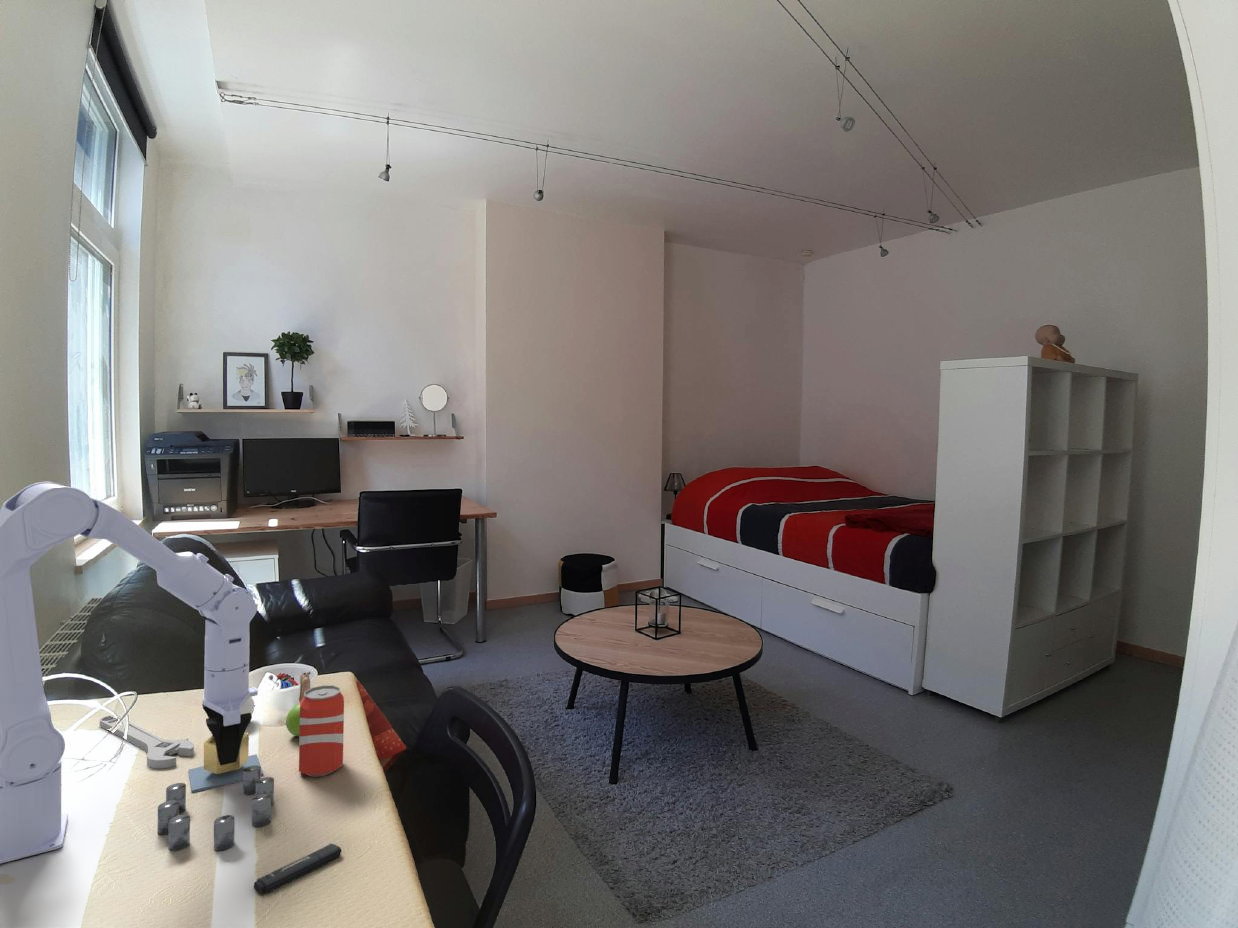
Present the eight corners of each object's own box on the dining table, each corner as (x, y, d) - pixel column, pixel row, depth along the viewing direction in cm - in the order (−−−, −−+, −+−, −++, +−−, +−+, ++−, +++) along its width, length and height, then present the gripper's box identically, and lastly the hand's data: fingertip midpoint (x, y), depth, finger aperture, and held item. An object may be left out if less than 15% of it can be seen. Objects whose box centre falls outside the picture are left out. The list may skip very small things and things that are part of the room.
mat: (191, 792, 93) (191, 790, 93) (188, 771, 99) (188, 769, 99) (263, 774, 98) (263, 773, 98) (256, 755, 104) (256, 753, 104)
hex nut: (205, 776, 95) (205, 748, 95) (202, 762, 99) (202, 735, 99) (250, 766, 98) (250, 739, 98) (246, 752, 102) (246, 726, 102)
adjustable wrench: (95, 727, 113) (95, 717, 113) (140, 715, 118) (140, 706, 118) (155, 773, 98) (155, 761, 98) (202, 757, 104) (202, 746, 103)
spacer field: (159, 869, 77) (159, 842, 77) (156, 811, 88) (156, 787, 88) (284, 832, 84) (284, 808, 84) (267, 783, 96) (267, 761, 96)
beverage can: (342, 756, 105) (343, 681, 104) (343, 775, 99) (344, 696, 98) (299, 762, 102) (301, 686, 102) (298, 782, 96) (299, 702, 96)
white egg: (259, 724, 115) (260, 692, 115) (223, 734, 111) (224, 701, 111) (243, 711, 120) (244, 680, 120) (208, 720, 116) (208, 688, 116)
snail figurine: (287, 747, 107) (288, 674, 107) (284, 731, 113) (285, 662, 112) (323, 740, 110) (324, 669, 109) (319, 725, 115) (320, 657, 115)
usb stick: (332, 850, 82) (332, 838, 82) (343, 859, 80) (343, 847, 80) (251, 890, 74) (252, 876, 74) (262, 900, 73) (262, 887, 73)
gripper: (265, 675, 94) (263, 768, 95) (251, 647, 106) (249, 730, 106) (207, 684, 90) (206, 781, 91) (199, 654, 102) (198, 740, 102)
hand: (226, 754), depth 98 cm, fingers closed on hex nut, 5 cm apart
